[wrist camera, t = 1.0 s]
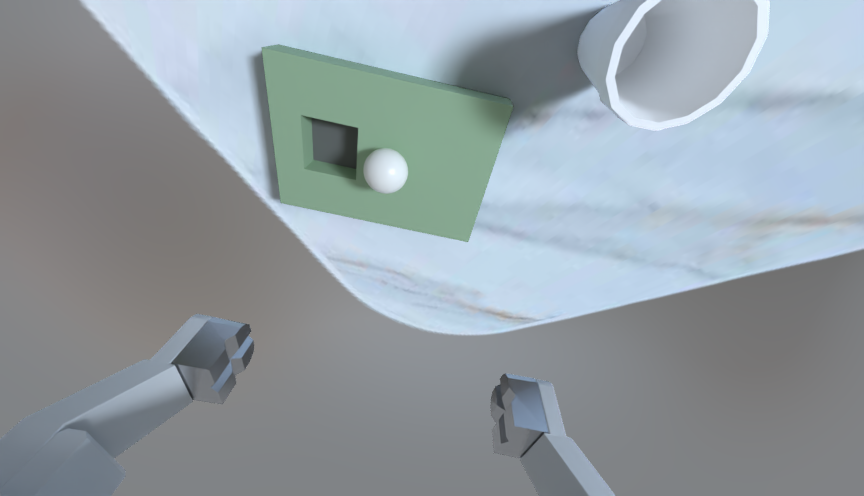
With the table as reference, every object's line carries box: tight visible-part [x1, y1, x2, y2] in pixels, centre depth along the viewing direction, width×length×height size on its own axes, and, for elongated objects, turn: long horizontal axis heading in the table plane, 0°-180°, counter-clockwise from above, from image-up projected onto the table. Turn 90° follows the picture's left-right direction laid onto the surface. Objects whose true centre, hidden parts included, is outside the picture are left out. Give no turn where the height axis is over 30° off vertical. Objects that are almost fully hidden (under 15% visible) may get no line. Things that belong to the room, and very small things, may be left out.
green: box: [262, 45, 514, 242], centre depth 38 cm, size 18×26×4 cm
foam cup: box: [577, 0, 770, 131], centre depth 26 cm, size 10×9×13 cm
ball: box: [363, 148, 408, 194], centre depth 35 cm, size 5×5×5 cm
